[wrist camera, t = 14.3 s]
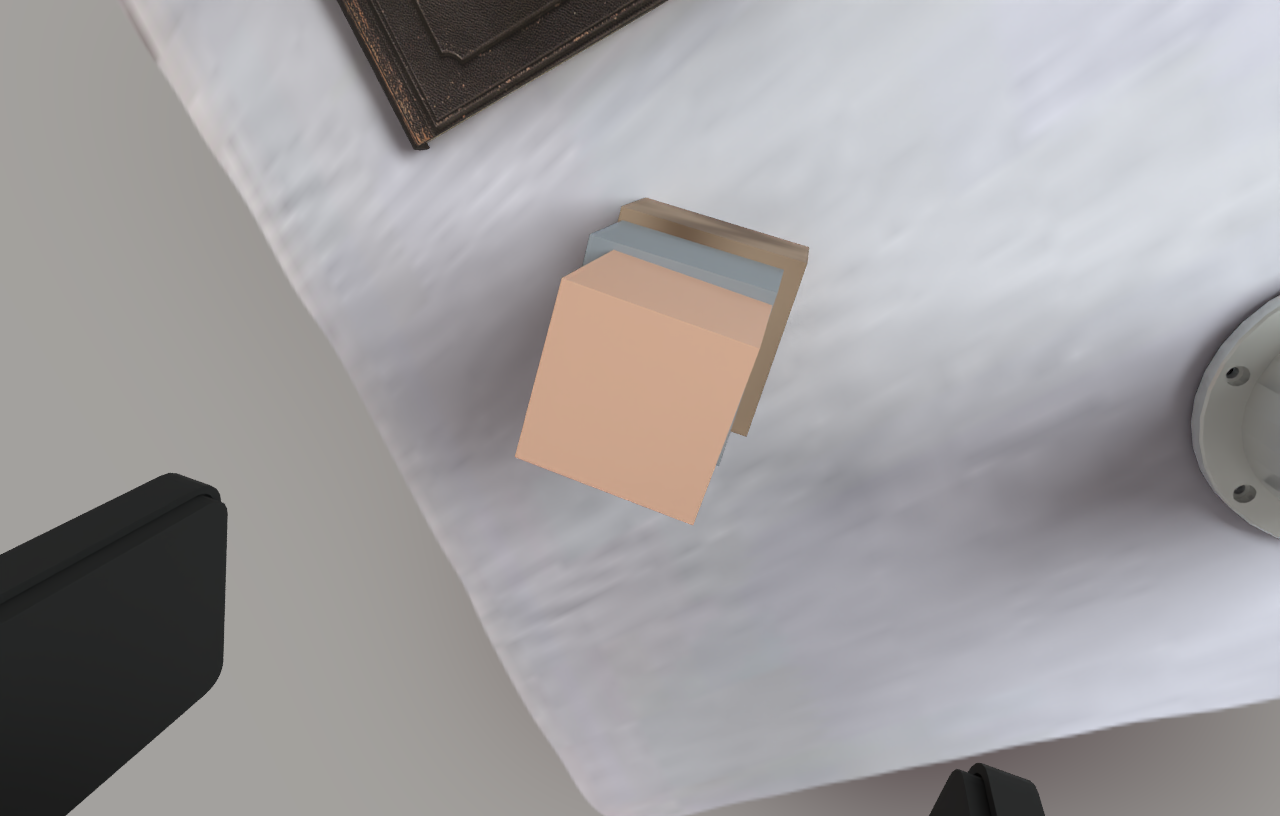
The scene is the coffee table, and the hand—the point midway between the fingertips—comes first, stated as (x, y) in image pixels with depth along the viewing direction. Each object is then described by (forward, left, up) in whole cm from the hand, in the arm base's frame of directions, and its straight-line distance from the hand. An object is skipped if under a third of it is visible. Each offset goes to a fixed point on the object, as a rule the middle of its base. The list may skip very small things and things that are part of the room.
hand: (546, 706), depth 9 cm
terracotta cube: (+2, +2, -20) cm, 20 cm away
